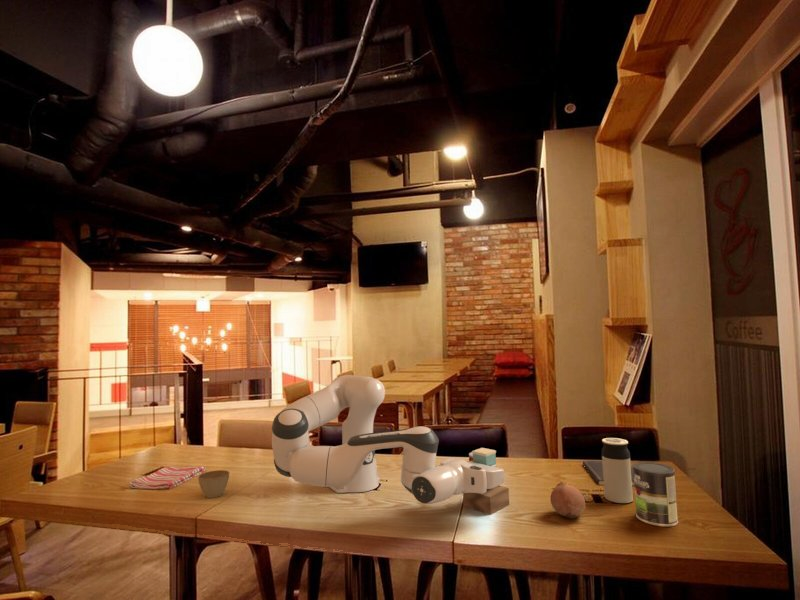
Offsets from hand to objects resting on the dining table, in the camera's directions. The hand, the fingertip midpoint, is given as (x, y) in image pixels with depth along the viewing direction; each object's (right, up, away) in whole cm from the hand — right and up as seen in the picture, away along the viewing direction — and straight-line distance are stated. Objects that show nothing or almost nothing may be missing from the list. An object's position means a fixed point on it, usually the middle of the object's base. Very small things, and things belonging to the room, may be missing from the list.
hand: (486, 465), depth 138 cm
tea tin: (-1, -5, -1) cm, 6 cm away
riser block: (0, -12, -2) cm, 12 cm away
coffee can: (+45, -10, -15) cm, 48 cm away
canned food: (+1, -13, +15) cm, 21 cm away
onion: (+22, -11, -11) cm, 26 cm away
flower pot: (-91, -16, +14) cm, 94 cm away
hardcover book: (+51, -13, +23) cm, 57 cm away
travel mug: (+41, -11, 0) cm, 43 cm away
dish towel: (-117, -19, +34) cm, 123 cm away
